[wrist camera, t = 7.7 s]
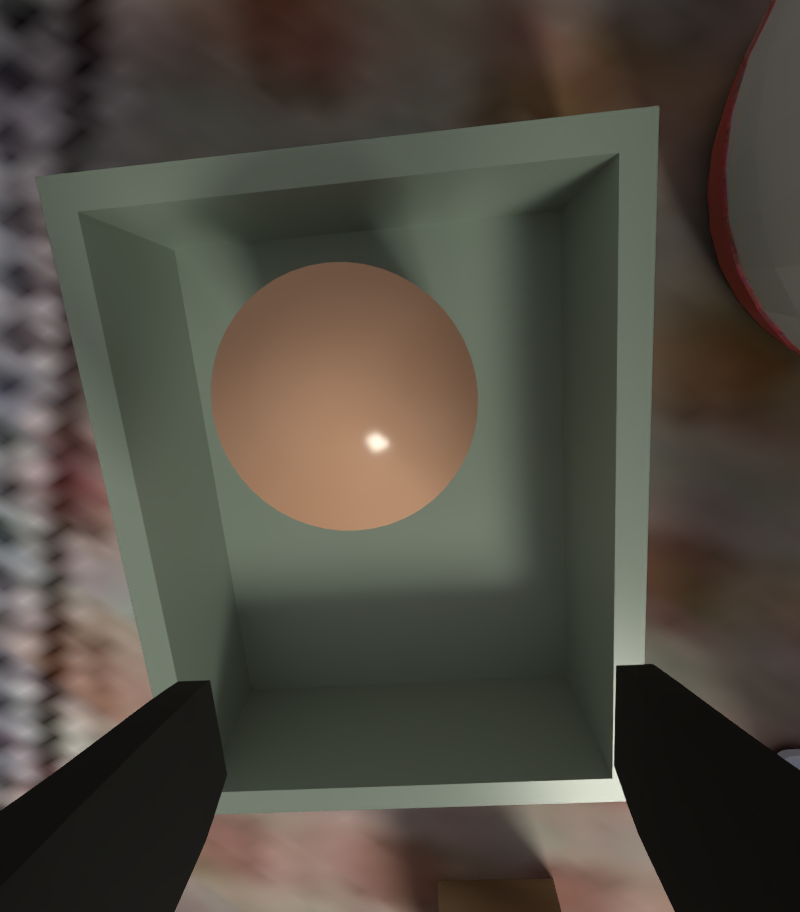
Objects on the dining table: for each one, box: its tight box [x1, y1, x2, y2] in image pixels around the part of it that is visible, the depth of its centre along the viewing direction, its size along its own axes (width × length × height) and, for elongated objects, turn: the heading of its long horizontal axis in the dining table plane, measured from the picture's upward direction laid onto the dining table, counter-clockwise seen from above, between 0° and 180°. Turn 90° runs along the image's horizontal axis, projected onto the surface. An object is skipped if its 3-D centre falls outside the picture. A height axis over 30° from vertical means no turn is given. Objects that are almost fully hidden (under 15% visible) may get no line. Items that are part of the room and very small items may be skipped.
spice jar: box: [211, 262, 478, 531], centre depth 12 cm, size 5×5×7 cm
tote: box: [35, 106, 659, 814], centre depth 15 cm, size 14×18×5 cm
